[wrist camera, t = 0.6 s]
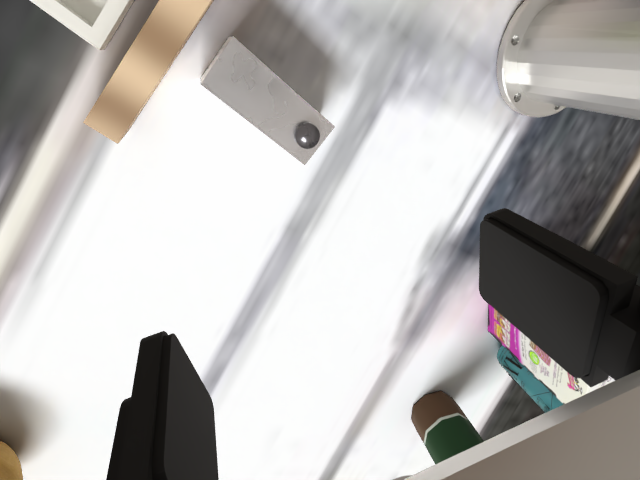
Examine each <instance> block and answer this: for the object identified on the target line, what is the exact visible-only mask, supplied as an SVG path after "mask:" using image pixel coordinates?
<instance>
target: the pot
mask: <svg viewBox="0 0 640 480" xmlns="http://www.w3.org/2000/svg"><path fill="white" fill-rule="evenodd" d="M0 480H23V475H22V469H21V464H20V461H19V459H18V457H17V455H16V454H15V452H14V451H13V449H11V448H10V447H9V446H8V445H7V444H6V443H4V442H2V441H0Z"/></svg>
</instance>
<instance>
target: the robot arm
mask: <svg viewBox="0 0 640 480" xmlns="http://www.w3.org/2000/svg"><path fill="white" fill-rule="evenodd" d="M497 81H498V87H499V90H500V92H501V95H502V97H503V99H504V101H505V102H506V104H507V105H508V106H509V107H510V108H511V109H512V110H514V111H515V112H517V113H519V114H521V115H526V116H530V117H545V116H550V115H552V114H555V113H557V112H559V111H561V110H563V109H564V108H566V107H571V108H576V109H582V110H587V111H593V112H599V113H604V114H610V115H615V116H621V117H627V118H632V119H638V120H640V0H525V1H524V2H523V3H522V4H521V5H520V7H519V8H518V9H517V11H516V12H515V14H514V15H513V17H512V19H511V20H510V22H509V24H508V26H507V28H506V31H505V33H504V35H503V38H502V41H501V45H500V48H499V53H498V59H497ZM637 278H638V277H637V276H635V275H633V274H631V273H630V272H628V271H626V270H624V269H622V268H620V267H618V266H616V265H614V264H612V263H610V262H608V261H607V260H605V259H603V258H601V257H599V256H597V255H595V254H593V253H591V252H589V251H587V250H585V249H583V248H582V247H580V246H578V245H576V244H574V243H572V242H570V241H568V240H566V239H564V238H562V237H560V236H558V235H557V234H555V233H553V232H551V231H549V230H547V229H545V228H543V227H541V226H539V225H537V224H535V223H533V222H532V221H530V220H528V219H526V218H524V217H522V216H520V215H518V214H516V213H514V212H512V211H510V210H508V209H505V208H504V209H500V210H497V211H495V212H492V213H489V214H487V215H485V217H484V220H483V221H482V222H481V224H480V267H479V291H480V294H481V296H482V298H483V299H484V300H485V301H486V302H487V303H488V304H489V305H491V306H492V307H493V308H494V309H495V310H496V311H498V312H499V313H500V314H501V315H502V316H503V317H504V318H506V319H507V320H508V321H509V322H510V323H511V324H512V325H514V326H515V327H516V328H517V329H518V330H519V331H521V332H522V333H523V334H524V335H525V336H526V337H527V338H529V339H530V340H531V341H532V342H533V343H534V344H535V345H537V346H538V347H539V348H540V349H541V350H542V351H544V352H545V353H546V354H547V355H548V356H549V357H550V358H552V359H553V360H554V361H555V362H556V363H557V364H558V365H560V366H561V367H562V368H563V369H564V370H565V371H567V372H568V373H569V374H570V375H571V376H573V377H575V378H580V379H581V380H583V381H584V382H585V383H586V384H587V385H588V386H590V387H593V386H595V385H597V384H600V383H602V382H604V381H606V380H608V377H609V376H610V377H612V378H613V379H614V380H615V381H613V382H611V383H609V384H607V385H605V386H603V387H600V388H598V389H596V390H594V391H592V392H590V393H587V394H585V395H583V396H581V397H579V398H577V399H574V400H572V401H570V402H568V403H566V404H564V405H562V406H559V407H557V408H555V409H553V410H551V411H549V412H546V413H544V414H542V415H540V416H538V417H536V418H533V419H531V420H529V421H527V422H525V423H523V424H521V425H519V426H516V427H514V428H512V429H510V430H508V431H506V432H504V433H502V434H499V435H497V436H495V437H493V438H491V439H489V440H487V441H484V442H482V443H480V444H478V445H476V446H474V447H472V448H470V449H467V450H465V451H463V452H461V453H459V454H457V455H455V456H453V457H451V458H448V459H446V460H444V461H442V462H440V463H438V464H436V465H434V466H431V467H429V468H427V469H425V470H423V471H421V472H419V473H417V474H415V475H412V476H410V477H408V478H406V479H404V480H640V286H638V285H636V281H637ZM106 480H218V466H217V451H216V436H215V421H214V408H213V403H212V400H211V397H210V395H209V393H208V391H207V390H206V388H205V386H204V384H203V383H202V381H201V379H200V377H199V375H198V374H197V372H196V370H195V368H194V367H193V365H192V363H191V361H190V360H189V358H188V356H187V354H186V353H185V351H184V349H183V347H182V345H181V344H180V342H179V340H178V338H177V337H176V335H175V334H170V335H168V334H167V333H166V332H165V331H162V332H160V333H157V334H154V335H151V336H148V337H146V338H143V339H142V340H141V342H140V347H139V354H138V360H137V366H136V372H135V378H134V384H133V390H132V396H131V397H130V398H128V399H125V400H124V401H123V402H122V404H121V407H120V411H119V416H118V421H117V427H116V432H115V437H114V442H113V448H112V453H111V458H110V463H109V469H108V474H107V479H106Z"/></svg>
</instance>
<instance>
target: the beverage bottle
mask: <svg viewBox="0 0 640 480" xmlns="http://www.w3.org/2000/svg"><path fill="white" fill-rule="evenodd" d="M497 359H498V361H499V364H501V365H502V366H503V367H502V368H504V369H505V370H506V371H507V372H508V373H509V376H510V377H511V378H512V379H513V380H514V379H515V380H516V381H517V383H518V384H519V385H520V386H521V387H522V388H523V389H522V390H523V391H524V390H525V391H524V392H527V393H528V394H529V395H530V397H531V398H532V399H533V400H534V401H535V402H536V403H537V404H538V405H539V407H541V408H542V409H541V410H543V411H544V413H546V412H549V411H551V410H553V409H555V408H557V407H559V406H562V405H564V404H563V403H562V402H561V401H560V400H559V399H558V398H556V396H555V395H553V393H551V392H550V391H549V390H548V389H547V388H546V387H545V386H544V385H543V384H542V383H541V382H540V381H539V380H538V379H537V378H536V377H535V376H534V375H533V374H532V373H531V372H530V371H529V370H528V369H527V368H526V367H525V366H524V365H523V364H522V363H520V361H519V360H518V359H516V358H515V357H514V356H513V355H512V354H511V353H510V352H509V351H508V350H507V349H506V348H505V347H504V346H503V345H502V346H501V347H500V349H499V351H498V354H497ZM515 380H514V381H515ZM516 381H515V382H516ZM527 393H526V394H527ZM535 402H534V403H535ZM538 405H537V406H538Z"/></svg>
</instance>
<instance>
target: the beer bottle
mask: <svg viewBox="0 0 640 480" xmlns="http://www.w3.org/2000/svg"><path fill="white" fill-rule="evenodd" d="M411 420H412V422H413V424H414V426H415V428H416V430H417V432H418V434H419V435H420V437H421V439H422V441H423V443H424V444H425V446H426V448H427V450H428V452H429V453H430V455H431V457H432V459H433V461H434V462H435V464H438V463H440V462H442V461H444V460H446V459H448V458H451V457H453V456H455V455H457V454H459V453H461V452H463V451H465V450H467V449H470V448H472V447H474V446H476V445H478V444H480V443H482V442H484V441H483V440H482V438H481V437H480V435H479V434H478V432H477V431H476V430H475V428H474V427H473V425H472V424H471V423H470V421H469V420H468V418H467V417H466V416H465V414H464V413H463V411H462V410H461V408H460V407H459V406H458V404H457V403H456V402H455V401H454V399H453V398H452V397H450V396H449V395H447V394H445V393H444V392H442V391H437V392H433V393H430V394H426V395H424V396H423V397H422V398H421V399H420V400H419V401H418V402H417V403H416V404H414V405H413V409H412V416H411Z"/></svg>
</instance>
